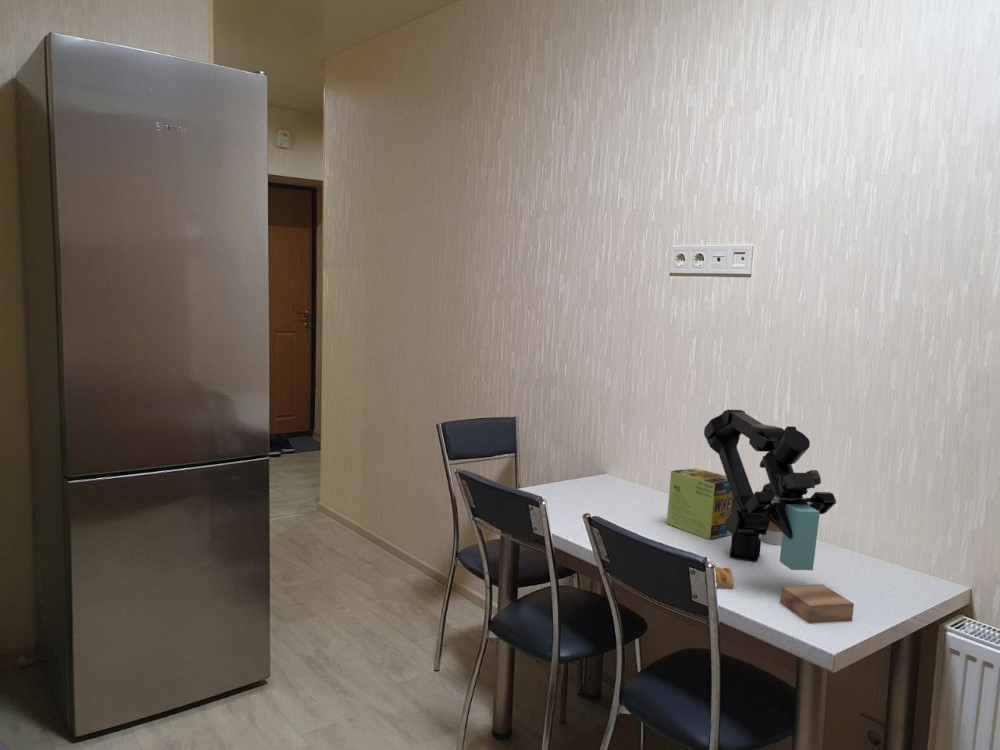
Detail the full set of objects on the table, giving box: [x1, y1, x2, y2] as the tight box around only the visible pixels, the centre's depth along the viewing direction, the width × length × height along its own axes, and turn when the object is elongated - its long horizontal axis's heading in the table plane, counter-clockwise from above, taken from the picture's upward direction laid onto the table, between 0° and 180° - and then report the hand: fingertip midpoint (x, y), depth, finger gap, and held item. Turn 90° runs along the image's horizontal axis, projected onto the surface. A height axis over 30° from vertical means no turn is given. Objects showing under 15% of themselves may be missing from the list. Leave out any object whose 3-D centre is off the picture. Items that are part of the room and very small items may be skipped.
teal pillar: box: [779, 504, 821, 571], centre depth 164 cm, size 5×5×13 cm
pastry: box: [714, 566, 735, 589], centre depth 170 cm, size 9×7×4 cm
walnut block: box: [779, 584, 855, 624], centre depth 157 cm, size 10×10×4 cm
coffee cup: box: [760, 482, 786, 546], centre depth 201 cm, size 8×8×15 cm
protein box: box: [666, 467, 734, 541], centre depth 208 cm, size 10×15×16 cm
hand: (802, 538), depth 162 cm, fingers closed on teal pillar, 5 cm apart
